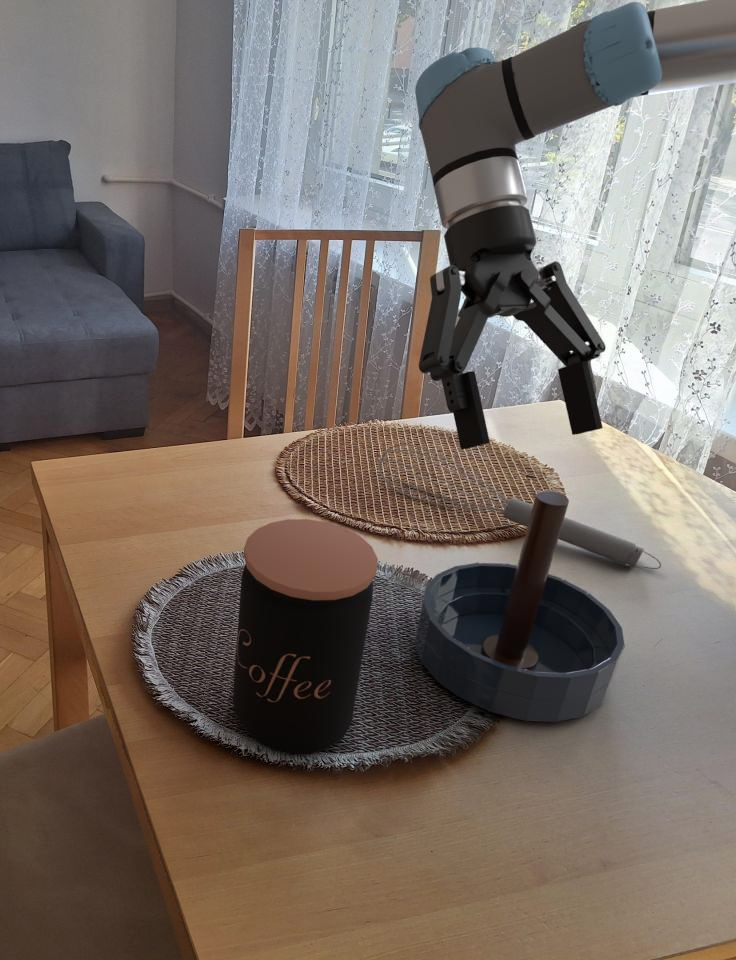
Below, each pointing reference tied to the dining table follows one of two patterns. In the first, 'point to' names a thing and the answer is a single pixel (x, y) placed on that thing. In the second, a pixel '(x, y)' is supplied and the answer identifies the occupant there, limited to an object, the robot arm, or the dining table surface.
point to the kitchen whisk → (522, 512)
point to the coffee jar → (301, 633)
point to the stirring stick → (528, 584)
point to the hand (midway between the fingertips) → (533, 439)
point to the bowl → (555, 636)
